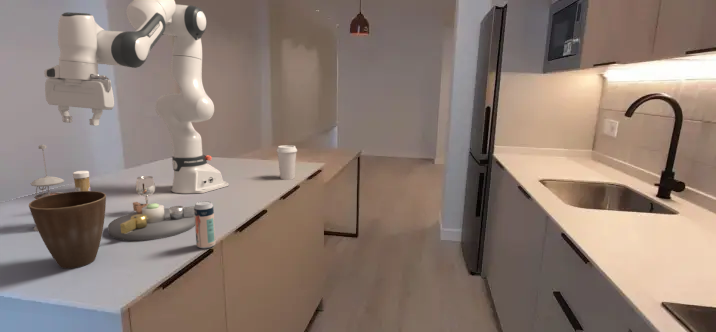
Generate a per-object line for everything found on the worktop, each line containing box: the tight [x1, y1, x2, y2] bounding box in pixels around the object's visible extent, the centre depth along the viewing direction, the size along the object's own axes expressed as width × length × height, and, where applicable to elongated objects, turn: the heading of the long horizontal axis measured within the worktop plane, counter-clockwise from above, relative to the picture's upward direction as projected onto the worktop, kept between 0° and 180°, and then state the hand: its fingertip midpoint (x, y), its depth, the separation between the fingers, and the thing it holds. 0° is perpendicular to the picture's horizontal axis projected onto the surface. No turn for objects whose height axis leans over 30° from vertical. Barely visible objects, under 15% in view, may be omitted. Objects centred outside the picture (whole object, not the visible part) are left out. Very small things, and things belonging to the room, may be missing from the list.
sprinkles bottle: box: [72, 170, 92, 192], centre depth 139 cm, size 5×5×13 cm
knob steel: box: [168, 205, 195, 219], centre depth 127 cm, size 8×4×3 cm, turn 110°
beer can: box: [194, 200, 216, 250], centre depth 109 cm, size 5×5×12 cm
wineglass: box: [135, 175, 156, 204], centre depth 138 cm, size 6×6×12 cm
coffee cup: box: [276, 144, 298, 181], centre depth 190 cm, size 10×10×15 cm
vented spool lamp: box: [30, 144, 65, 232], centre depth 123 cm, size 10×12×25 cm
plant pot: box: [28, 190, 107, 269], centre depth 98 cm, size 15×15×16 cm
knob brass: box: [120, 214, 147, 233], centre depth 116 cm, size 8×4×3 cm, turn 170°
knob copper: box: [132, 201, 149, 214], centre depth 130 cm, size 8×4×3 cm, turn 50°
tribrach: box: [107, 202, 195, 242], centre depth 125 cm, size 24×24×7 cm
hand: (80, 123), depth 114 cm, fingers open, 8 cm apart
